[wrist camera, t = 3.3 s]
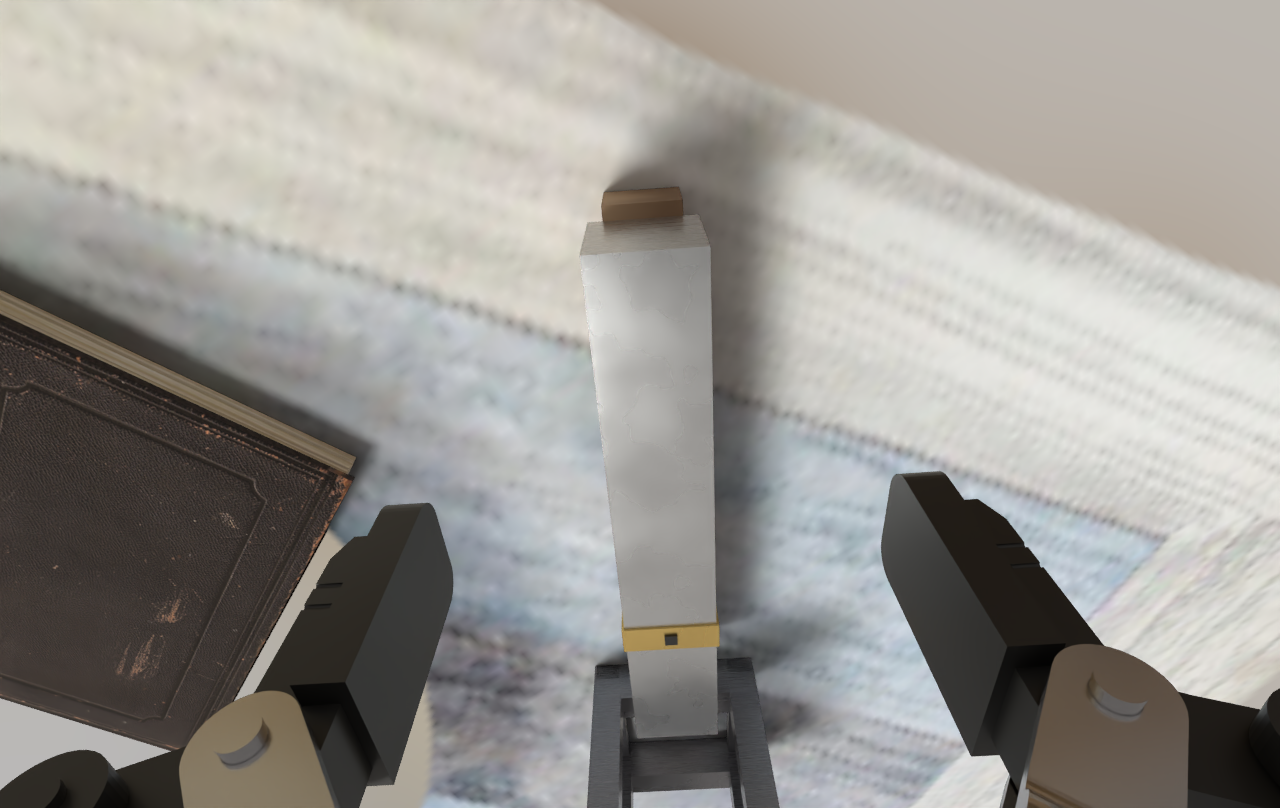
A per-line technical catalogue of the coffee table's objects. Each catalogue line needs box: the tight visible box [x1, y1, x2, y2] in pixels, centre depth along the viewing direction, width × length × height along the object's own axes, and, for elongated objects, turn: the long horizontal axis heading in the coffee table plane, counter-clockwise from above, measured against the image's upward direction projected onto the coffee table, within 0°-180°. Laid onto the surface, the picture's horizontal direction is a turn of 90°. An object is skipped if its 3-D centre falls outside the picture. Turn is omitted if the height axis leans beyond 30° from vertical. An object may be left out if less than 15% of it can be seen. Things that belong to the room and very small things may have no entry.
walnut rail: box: [601, 187, 683, 221], centre depth 27 cm, size 3×24×2 cm, turn 4°
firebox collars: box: [587, 658, 780, 808], centre depth 32 cm, size 8×9×10 cm
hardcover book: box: [0, 290, 356, 751], centre depth 30 cm, size 16×23×2 cm
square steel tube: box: [580, 214, 719, 738], centre depth 24 cm, size 22×4×4 cm, turn 4°
